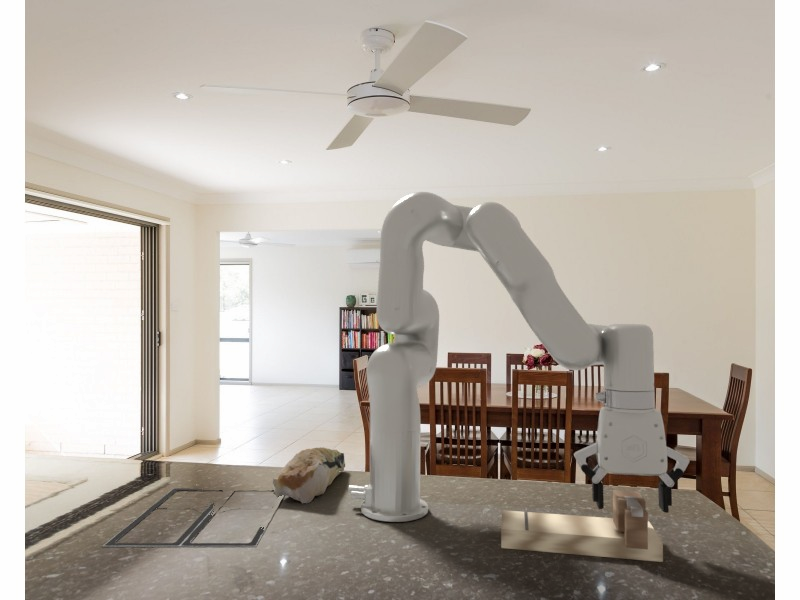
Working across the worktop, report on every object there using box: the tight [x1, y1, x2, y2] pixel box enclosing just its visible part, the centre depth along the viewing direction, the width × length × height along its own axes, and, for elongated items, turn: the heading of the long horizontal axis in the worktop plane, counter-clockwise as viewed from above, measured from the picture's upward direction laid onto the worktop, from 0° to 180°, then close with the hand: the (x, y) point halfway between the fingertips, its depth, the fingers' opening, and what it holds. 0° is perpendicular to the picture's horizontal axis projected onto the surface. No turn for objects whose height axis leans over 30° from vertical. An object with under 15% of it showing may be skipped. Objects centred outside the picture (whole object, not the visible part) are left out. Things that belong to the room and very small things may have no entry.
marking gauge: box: [612, 489, 649, 549], centre depth 89 cm, size 4×9×6 cm, turn 169°
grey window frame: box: [102, 487, 267, 548], centre depth 105 cm, size 24×1×30 cm
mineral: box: [272, 447, 346, 504], centre depth 123 cm, size 26×9×10 cm
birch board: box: [500, 509, 664, 563], centre depth 93 cm, size 24×9×3 cm, turn 79°
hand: (631, 508), depth 91 cm, fingers open, 9 cm apart
